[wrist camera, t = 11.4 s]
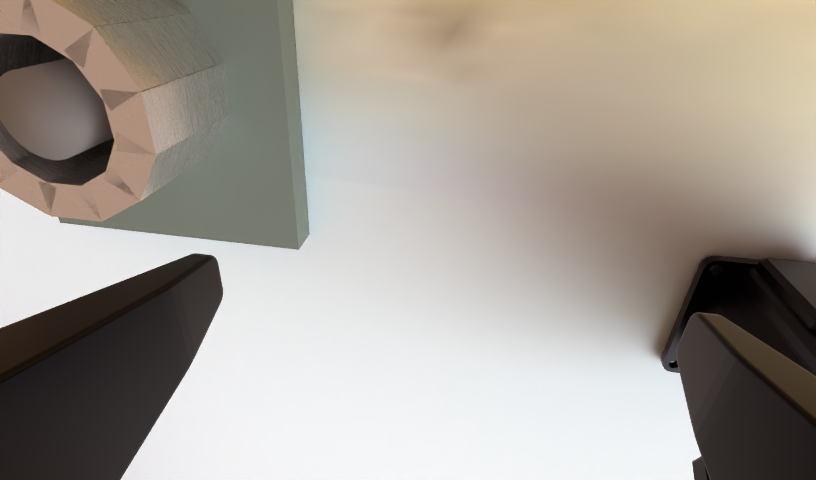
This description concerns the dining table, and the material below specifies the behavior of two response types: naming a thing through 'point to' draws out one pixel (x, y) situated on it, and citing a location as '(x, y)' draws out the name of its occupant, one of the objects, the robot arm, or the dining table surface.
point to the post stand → (236, 151)
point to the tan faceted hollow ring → (116, 100)
